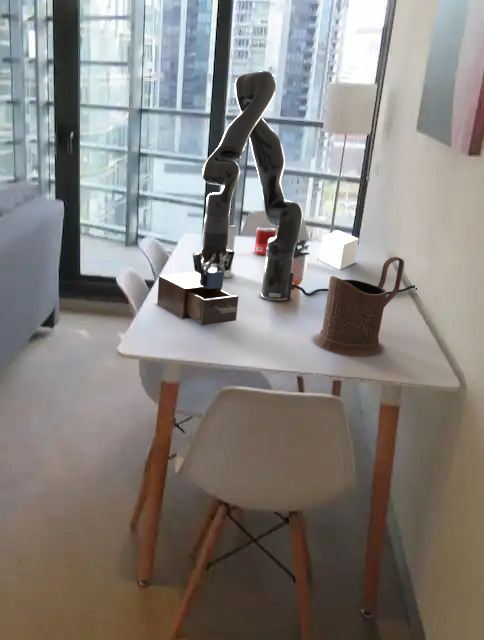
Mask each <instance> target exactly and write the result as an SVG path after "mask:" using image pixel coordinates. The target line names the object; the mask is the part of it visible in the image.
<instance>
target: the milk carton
mask: <svg viewBox="0 0 484 640" xmlns="http://www.w3.org/2000/svg"><path fill="white" fill-rule="evenodd" d="M236 230H237V226H236V225H230V224H229V233H228V244H227V246H226V249H227V250H231V251H234V252H235V243H236V235H237V234H236V232H237V231H236ZM224 259H225V256H224V257H223V260H224ZM233 263H234V259H233V260H232V264H231V267H230V270H227V271H225V272H224V277H223V278H231V276H232V272H233V265H234V264H233ZM211 268H217V266H216V264H215V263H214V264H212V265H211Z"/></svg>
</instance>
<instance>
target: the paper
mask: <svg viewBox="0 0 484 640" xmlns="http://www.w3.org/2000/svg"><path fill="white" fill-rule="evenodd" d="M359 240H360V239H359V238H358V237H356V236H353V235H351V234H348V233H346V232H343V231H342V230H341V231H340V230H339V229H337V230H335V231H332V232H330V233H329V232H328V233H327V234H324V235H322V241H321V246H320V252H319V261H322V262H323V263H326V264H327V265H329V266H331V267H333V268H336V269H338V270H342V269H344V268H346V267H349V266H351V265H353V264H355V262H356V256H357V252H358V246H359Z"/></svg>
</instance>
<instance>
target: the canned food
mask: <svg viewBox="0 0 484 640" xmlns="http://www.w3.org/2000/svg"><path fill="white" fill-rule="evenodd" d="M255 233H256V234H255V244H254V254H256V255H258V256H264V257H266V251H267V243H268V240H269V239H270V238H274V237H276V235H277V229H276V227H274V226H265V225H264V226H258V227H256V232H255Z"/></svg>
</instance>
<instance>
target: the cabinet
mask: <svg viewBox="0 0 484 640" xmlns="http://www.w3.org/2000/svg"><path fill="white" fill-rule="evenodd" d="M201 289H208V288H205V287H203V286H201V285H200V273H198V272H196V271H193V272H192V271H190V272H189V271H188V272H181V273H170V274H161V275H158V286H157V303H156V304H157V306H159V307H161V308H163V309H164V310H166V311H168V312H170V313H171V314H173V315H175V316H176V317H178V318H180V319H182V320H185V319H193V318H192V317H191V316H189V315H187V314H185V313H186V300H187V291H193V290H201ZM218 289H220V290H222V288H218Z"/></svg>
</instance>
